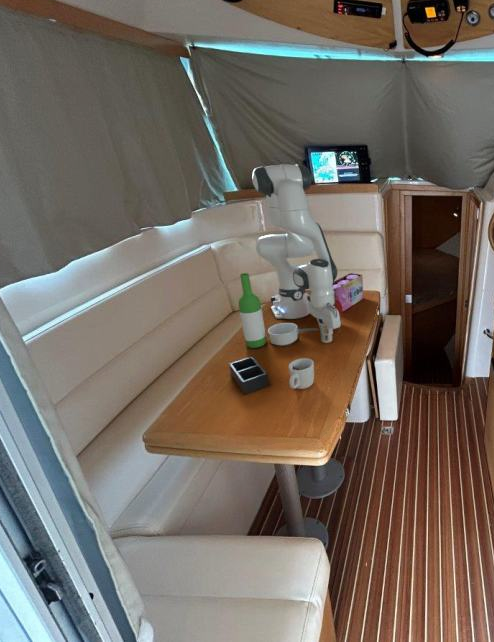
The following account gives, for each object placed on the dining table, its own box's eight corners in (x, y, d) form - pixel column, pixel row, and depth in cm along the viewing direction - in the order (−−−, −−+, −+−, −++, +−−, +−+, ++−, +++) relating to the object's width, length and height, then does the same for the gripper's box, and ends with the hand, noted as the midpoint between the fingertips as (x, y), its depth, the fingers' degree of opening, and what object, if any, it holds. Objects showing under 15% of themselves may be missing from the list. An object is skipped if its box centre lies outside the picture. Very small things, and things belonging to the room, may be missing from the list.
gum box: (339, 314, 176) (337, 288, 171) (325, 312, 178) (323, 286, 173) (364, 298, 196) (362, 274, 192) (351, 296, 199) (350, 272, 194)
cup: (304, 398, 114) (301, 377, 111) (281, 395, 116) (278, 373, 113) (320, 379, 124) (318, 359, 121) (299, 376, 126) (296, 356, 123)
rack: (231, 375, 126) (228, 363, 124) (254, 367, 131) (252, 356, 129) (245, 394, 116) (242, 382, 114) (269, 385, 121) (267, 373, 119)
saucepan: (315, 347, 145) (314, 334, 143) (265, 347, 144) (263, 335, 142) (322, 334, 156) (321, 322, 154) (275, 334, 155) (273, 322, 153)
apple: (337, 318, 171) (335, 291, 166) (348, 325, 164) (346, 297, 159) (316, 324, 164) (313, 296, 159) (327, 332, 157) (324, 303, 152)
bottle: (263, 348, 143) (251, 277, 133) (243, 349, 143) (229, 277, 132) (269, 339, 151) (258, 271, 140) (250, 340, 150) (237, 271, 139)
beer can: (335, 340, 151) (333, 314, 147) (327, 344, 147) (324, 318, 143) (327, 337, 153) (324, 311, 149) (318, 341, 149) (315, 315, 145)
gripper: (343, 305, 138) (345, 337, 143) (318, 291, 152) (321, 321, 157) (328, 309, 134) (331, 342, 139) (304, 294, 148) (308, 325, 153)
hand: (326, 330), depth 149 cm, fingers open, 5 cm apart
